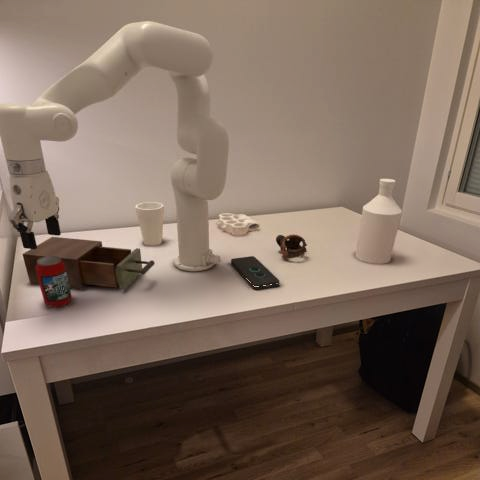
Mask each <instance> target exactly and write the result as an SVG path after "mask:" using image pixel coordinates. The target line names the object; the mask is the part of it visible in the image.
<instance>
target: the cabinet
mask: <svg viewBox="0 0 480 480" xmlns="http://www.w3.org/2000/svg"><path fill="white" fill-rule="evenodd" d="M98 246H101V247H103V242H102V241H101V240H93V239H92V240H91V239H83V238H82V239H80V238H69V237H59V236H51V237H49V238H47V239H46V240H43V241H42V242H41V243H39V244H37V248H36V249H28V250H27V251H25V252H23V253H21V255H22V258H23V263H24V265H25V266H24V267H25V270H26V273H27V277H28V280H29V284H30V285H36V286H37V285H38V286H40V284H39V280H38V276H37V271H36V265H37V261H38V260H39V259H40V258H42V257H46V256H58V257H60V259H61V260H62V261H63V262H64V264H65V268H66V272H67V277H68V282H69V286H70V289H74V290H84V289H85V288H86V287H87V286H88V285H89V284H83V282H82V277H81V272H80V267H79V262H78V261H79V260H81V259H82V258H83V257H85V256H86V255H87V254H89V253H90V252H91V251H93V250H94V249H96V248H97V247H98Z"/></svg>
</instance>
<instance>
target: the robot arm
mask: <svg viewBox="0 0 480 480" xmlns="http://www.w3.org/2000/svg"><path fill="white" fill-rule="evenodd" d="M213 61H214V53H213V49H212V46H211V44H210V42H209V41H208V39H207V38H205V36H203V35H201V34H199V33H196V32H192V31H189V30H186V29H182V28H177V27H174V26H170V25H167V24H164V23H160V22H156V21H151V20H150V21H149V20H145V21H138V22H131V23H128V24H125V25H124V26H122V27H121V28H120V29H119V30H118V31H116V33H114V34H113V35H112V36H111V37H110V38H109V39H108V40H107V41H106V42H104V43H103V44H102V45H101V46H100V47H99V48H98V49H97V50H96V51H95V52H93V53H92V54H91V55H90V56H89V57H88V58H87V59H85V61H83V62H82V63H80V64H79V65H77V66H75V67H74V68H73V69H72V70H71V71H69V72H68V73H67V74H65V75H64V76H62V77H61V78H59V79H58V80H56V81H55V82H54V83H53V84H51V85H50V86H49V87H48V88H47V89H46V90H45V91H43V92H42V94H40V95H39V96H38V97H37V98H36V99H35V100H34V101H33V102H32V103H31V105H29V104H27V103H26V104H25V103H0V142H1V146H2V150H3V154H4V158H5V163H6V166H7V171H8V174H9V175H8V176H9V177H8V178H9V179H8V180H9V188H10V196H11V197H10V198H11V202H12V203H11V204H12V207H13V209H12V211H11V212H10V214H9V215H8V221H9V222H10V223H11V225H12V227H13V228H14V229H15V230H16V231H17V233H19V236H20V239H21V243H22V247H23V248H24V249H27V250H30V249H36V248H37V245H38V244H37V241H36V240H37V239H36V236H35V232H34V231H33V226H34V223H40V222H42V221H45V226H46V231H47V234H48V235H50V236H56V237H59V236H61V235H62V233H61V226H60V222H59V218H60V215H59V212H60V198H59V197H57V196H56V192H55V188H54V185H53V182H52V179H51V177H50V174H49V171H48V170H47V168H46V162H45V158H44V153H43V149H42V142H41V141H47V142H58V143H59V142H67V141H70V140H71V139H73V138H74V137H75V136H76V134H77V132H78V129H79V121H78V119H77V117H76V115H77V114H78V113H79V112H81V111H82V110H83V109H86V108H87V107H89V106H91V105H94V104H97V103H101V102H104V101H107V100H109V99H111V98H113V97H114V96H115V95H117V94H118V93H119V92H120V91H121V90H122V89H123V88H124V87H125V86H126V85H127V84H128V83H129V82H131V80H132V79H134V78H135V77H136V76H137V75H138V74H139V73H140V72H141V71H142V70H143V69H145V68H156V69H159V70H163V71H164V72H166V74H167V75H168V76H169V77H170V79H171V81H172V82H173V84H174V86H175V89H176V93H177V95H176V96H177V124H176V140H177V144H178V146H179V147H180V149H181V150H183V151H184V152H187V153H190V154H193V155H195V156H196V158H193V157H182V158H180V159H178V160H177V161H176V162H174V164H173V166H172V168H171V170H170V171H171V173H170V181H171V186H172V190H173V195H174V201H175V212H176V228H177V231H176V232H177V245H178V246H177V247H178V256H176V257H175V259H174V266H175V267H176V268H177V269H179V270H182V271H185V272H203V271H206V270H209V269H211V268H213V266H215V265H220V264H221V261H222V259H221V255H219V254H214V253H213V249H211V248H210V222H209V221H210V217H209V216H210V215H209V214H210V213H209V204H208V201H214V200H217V199H218V198H219V197H220V196H221V195H222V193H223V191H224V189H225V187H226V180H227V172H228V159H229V149H230V139H229V134H228V130H227V129H226V126H225V125H224V123H222V122H221V120H219V119H216V118H213V117H211V92H210V91H211V90H210V86H209V83H208V79H207V78H206V75H205V74H206V73H208V71H209V70H210V69H211V67H212V66H213V65H212V64H213ZM25 223H26V225H25Z"/></svg>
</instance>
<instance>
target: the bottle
mask: <svg viewBox="0 0 480 480" xmlns="http://www.w3.org/2000/svg"><path fill="white" fill-rule="evenodd" d="M378 184H379V188H378V189H379V190H378V194H377V195H376V196H375V197H373V198H372V199H371V200H370V201H368V202H367V203H366V204H364V205H363V206H362V211H361V217H360V223H359V229H358V237H357V243H356V250H355V258H356V259H357V260H360V261H362V262H364V263H367V264H375V265H381V264H387V263H389V262H390V261H391V259H392V255H393V250H394V246H395V242H396V238H397V233H398V230H399V225H400V221H401V217H402V213H403V210H402V208H401V207H400V206H399V205H398V204H397V202H396V201H395V199H394V198H393V191H394V190H393V189H394V187H395V186H396V180H395V179H391V178H380V179H379V183H378Z"/></svg>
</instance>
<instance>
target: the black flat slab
mask: <svg viewBox="0 0 480 480" xmlns="http://www.w3.org/2000/svg"><path fill="white" fill-rule="evenodd" d="M230 265H231V266H232V267H233V268H234V270H235V271H236V272H237V273H238V274H239V275H240V276H241V277H242V278H243V280H244V281H245V282H246V283H247V284H248V285H249V286H250V287H251V289H252V290H254V291H258V290H265V289H271V288H278V287H280V280H279V278H278V277H276V276H275V275H274V273H272V272H271V270H269V269H268V268H267V267H266V266H265V265H264V264H263V263H262V262H261V261H260V260H258V259H257V257H255V256H254V255H250V256H249V255H248V256H242V257H235V258H234V257H233V258H231V259H230ZM246 278H247V279H248V280H249V281H250V282H251V283H250V282H249V281H248V280H247V279H246ZM276 283H279V284H276ZM270 284H272V285H270ZM253 285H254V286H259V287H254V286H253ZM263 285H266V286H263Z"/></svg>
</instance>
